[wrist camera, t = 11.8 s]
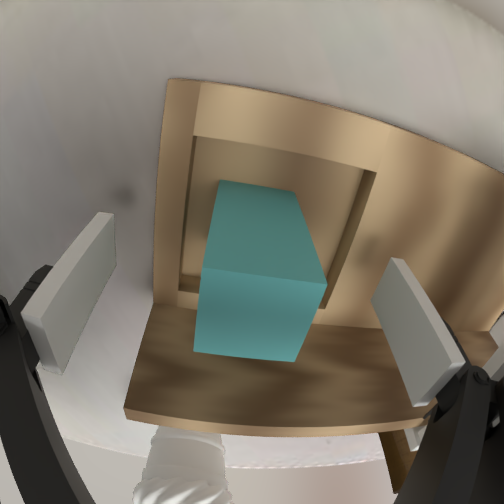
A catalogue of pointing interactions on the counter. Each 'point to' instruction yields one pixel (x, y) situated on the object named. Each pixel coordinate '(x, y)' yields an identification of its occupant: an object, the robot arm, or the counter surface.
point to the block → (257, 276)
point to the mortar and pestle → (397, 456)
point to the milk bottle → (498, 331)
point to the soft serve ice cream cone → (184, 469)
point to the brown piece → (330, 256)
